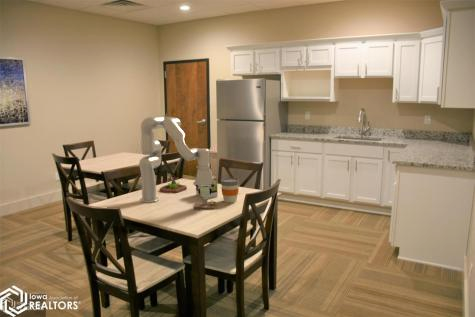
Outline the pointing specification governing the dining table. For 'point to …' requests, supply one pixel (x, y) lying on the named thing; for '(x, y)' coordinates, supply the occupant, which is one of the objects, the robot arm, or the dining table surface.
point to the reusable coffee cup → (230, 189)
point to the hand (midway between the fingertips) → (205, 194)
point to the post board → (204, 205)
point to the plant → (173, 187)
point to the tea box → (214, 189)
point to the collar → (204, 191)
